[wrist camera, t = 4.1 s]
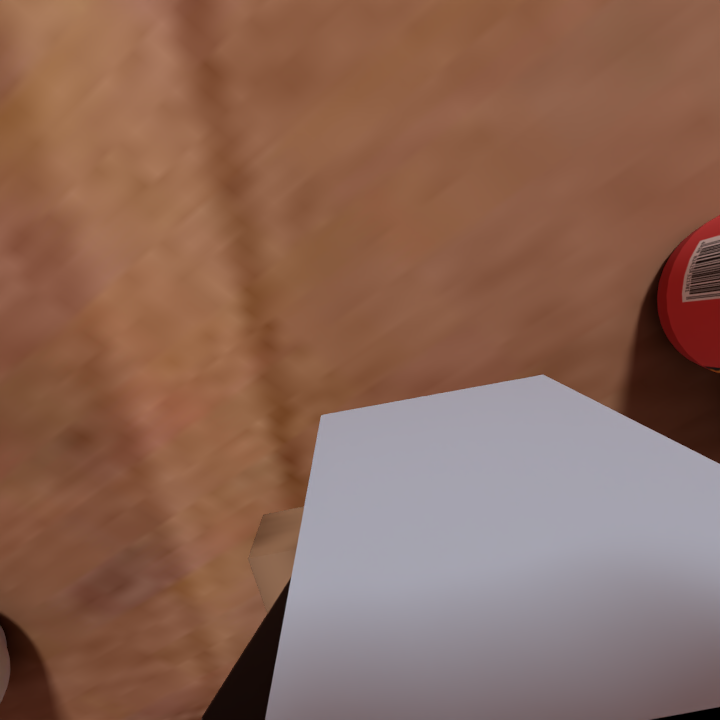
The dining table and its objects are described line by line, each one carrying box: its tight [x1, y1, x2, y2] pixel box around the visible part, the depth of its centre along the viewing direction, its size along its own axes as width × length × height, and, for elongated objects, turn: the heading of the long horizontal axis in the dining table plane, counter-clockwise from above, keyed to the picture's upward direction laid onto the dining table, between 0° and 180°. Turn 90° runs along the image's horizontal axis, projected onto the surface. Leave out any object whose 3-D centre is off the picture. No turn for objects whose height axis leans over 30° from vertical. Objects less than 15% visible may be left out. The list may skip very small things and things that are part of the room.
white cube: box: [265, 375, 720, 720], centre depth 5 cm, size 5×5×7 cm
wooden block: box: [248, 507, 304, 614], centre depth 19 cm, size 10×10×4 cm
